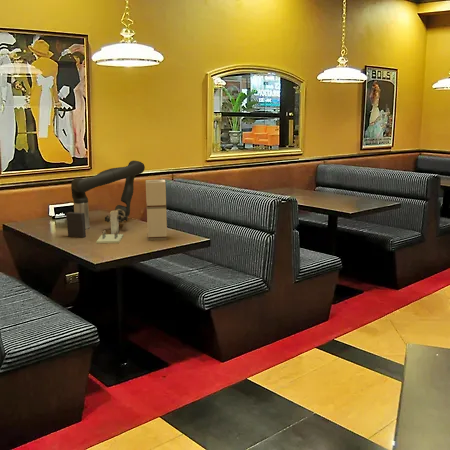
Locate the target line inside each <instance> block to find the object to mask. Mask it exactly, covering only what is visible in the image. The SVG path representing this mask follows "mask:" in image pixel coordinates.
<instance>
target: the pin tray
mask: <svg viewBox="0 0 450 450" xmlns="http://www.w3.org/2000/svg"><path fill="white" fill-rule="evenodd" d="M101 232H102V234H101V235H100V236H99V238H98V239H97V240H96V242H95V243H96V244H119V243H120V242H121V240H122V239H123V237H124V234H123V233H122V234H121V233H120V234H119V233H118V232H117V230H115V232H114V234H111V233H110V234H109V233H108V234H106V233H107V232H106V230H104V229H103V231H101Z"/></svg>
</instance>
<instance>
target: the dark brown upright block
mask: <svg viewBox="0 0 450 450" xmlns="http://www.w3.org/2000/svg"><path fill="white" fill-rule="evenodd" d="M65 214H66V215H65V216H66V217H65V219H66V224H67V236H68V237H70V238H81V239H83V238H85V237H86V236H87V234H86V231H87V230H86V229H85V214H84V213H77V212H74V211H68V212H66V213H65Z"/></svg>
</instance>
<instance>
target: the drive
mask: <svg viewBox="0 0 450 450" xmlns="http://www.w3.org/2000/svg"><path fill="white" fill-rule="evenodd" d="M109 214H110V216H109V217H110V219H111V221H110V234H114V232H115V230H117V232H118V234H119V232H120V226H119V225H120V222H119V219H118V210H115V209H114V210H111V211H110V212H109Z"/></svg>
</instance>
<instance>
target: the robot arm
mask: <svg viewBox="0 0 450 450" xmlns="http://www.w3.org/2000/svg"><path fill="white" fill-rule="evenodd" d="M145 169H146V167H145V164H144V162H142V161H139V160H131V161H129V162H128V164H127V165H126V166H119V167H113V168H108V169H105V170H103V171H100V172H99V173H97V174H95V175H94V176H91V177H85V178H81V177H76V178H73V180H71V184H70V188H71V189H70V191H71V197H72V200H73V212H77V213H84V214H85V230H87V229H90V228H91V227H90V226H91V225H90V211H89V199H88V197H87V195H86V193H87V192H88V191H91V190H93V189H95V188H97V187H102V186H106V185H109V184H112V183H115V182H118V181H121V180H124V179H125V180H124V186H123V190H122V193H121V197H120V201H121V202H122V203H124V204H125V205H126V206H125V205H121V204H117V205H116V206H115V208H114V210H118V219H119V223H122V222H125V221H126V222H128V219H129V216H130V214H131V201H132V199H133V195H134V183H135V178H136V176H138V175H141V174H142V173H143V172H144V171H145ZM104 221H105V222H107V223H109V222H111V219H110V216H109V215H105V216H104Z"/></svg>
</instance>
